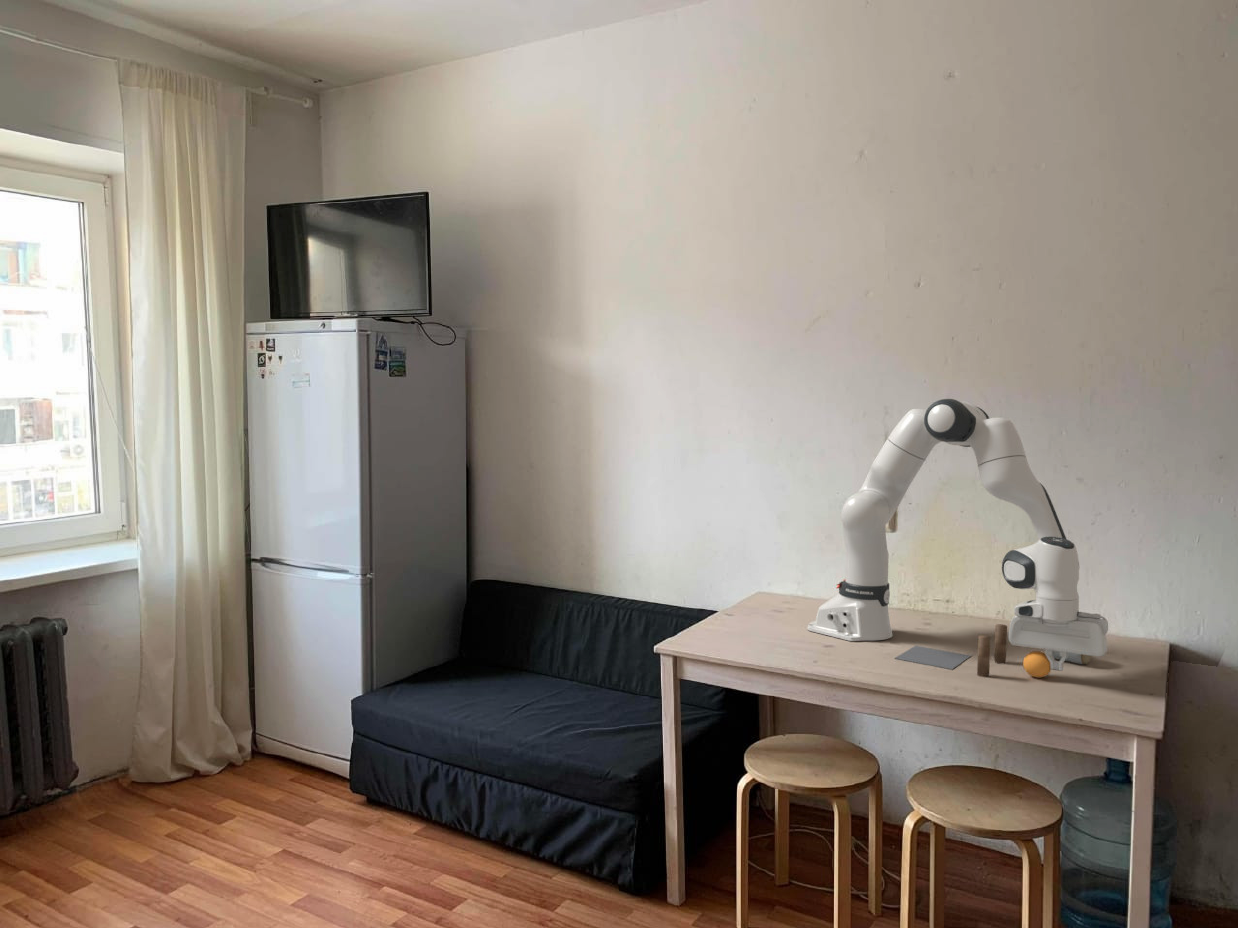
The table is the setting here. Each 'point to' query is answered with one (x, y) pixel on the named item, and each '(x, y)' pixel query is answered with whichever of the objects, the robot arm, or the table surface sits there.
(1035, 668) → the ball
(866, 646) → the table surface
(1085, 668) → the table surface
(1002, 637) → the post far
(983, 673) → the post near
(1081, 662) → the grey cylinder
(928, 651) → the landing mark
